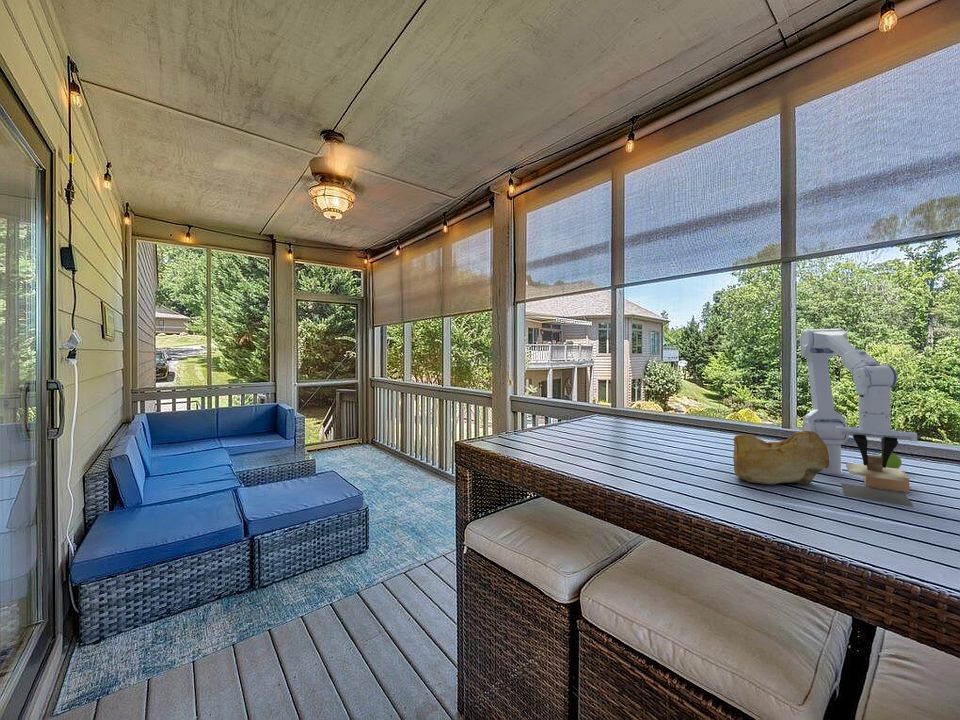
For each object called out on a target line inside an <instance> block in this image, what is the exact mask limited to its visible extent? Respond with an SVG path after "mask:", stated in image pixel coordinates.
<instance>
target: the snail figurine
mask: <svg viewBox="0 0 960 720" xmlns="http://www.w3.org/2000/svg"><path fill="white" fill-rule="evenodd" d="M881 439H882V438H880V440H881ZM881 455H882V452H880V453H879V454H877V456H881ZM902 463H903V462H902V459H901V457H900V456H899V455H897V454H896V453H894V450H893V451H892V453H891V455H890V457H889V459H888V461H887V465H886V467H888V468H896V469H900V467H901V466H902Z"/></svg>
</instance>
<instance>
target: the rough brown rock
mask: <svg viewBox="0 0 960 720" xmlns="http://www.w3.org/2000/svg"><path fill="white" fill-rule="evenodd" d="M732 458H733V468H734V469H733V471H734V474H735V476H736V477H737V478H739V479H741V480H744V481H746V482H748V483H753V484H763V485H777V484H785V483H786V484H787V483H796V484H801V485H809V484H810V483H813V482H812V481H813V480H814V478H815V477H816V475H817V474H818V473H821V472H820V471H822V470H823V469H824V468H828V466H829V455H828V451H827V447H826V445H825V443H824V441H823V440H821V439H820V437H819V435H818V434H816V433H815V432H813V431H803V432H802V431H795V432H793V433H792V435H790V436H789V437H788V438H787V439H783V440H780V441H771V442H770V441H769V442H768V441H765V440H764V439H760V438H759V437H757V436H755V435H754V434H736V435H735V436H734V437H733V457H732Z"/></svg>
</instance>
